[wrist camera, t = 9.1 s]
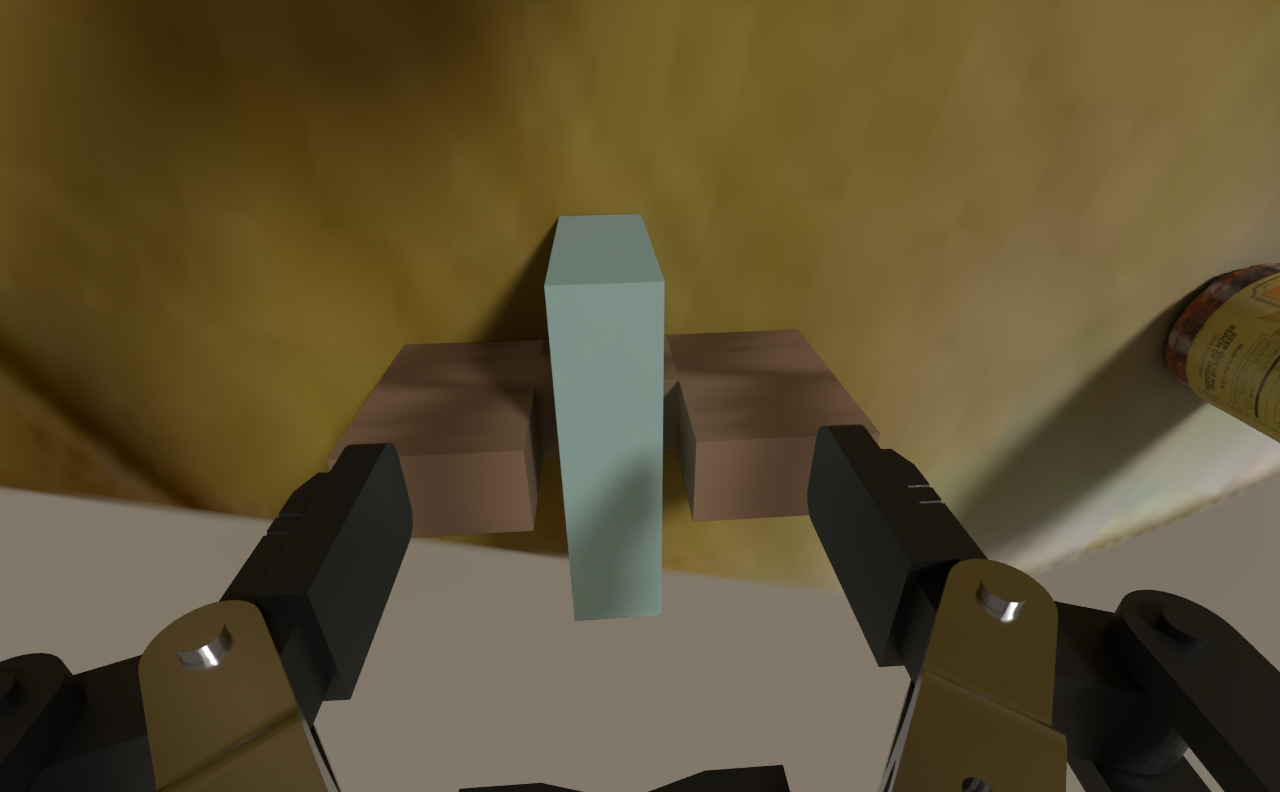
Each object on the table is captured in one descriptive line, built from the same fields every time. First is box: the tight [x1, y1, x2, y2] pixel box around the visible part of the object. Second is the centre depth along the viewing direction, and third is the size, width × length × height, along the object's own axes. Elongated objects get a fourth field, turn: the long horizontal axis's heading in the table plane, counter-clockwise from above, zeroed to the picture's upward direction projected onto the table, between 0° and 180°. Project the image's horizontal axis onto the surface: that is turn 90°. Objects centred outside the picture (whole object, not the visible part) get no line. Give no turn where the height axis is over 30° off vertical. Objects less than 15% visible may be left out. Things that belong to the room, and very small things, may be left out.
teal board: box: [544, 214, 664, 621], centre depth 21 cm, size 12×3×8 cm, turn 1°
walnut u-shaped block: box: [326, 330, 880, 538], centre depth 21 cm, size 16×3×8 cm, turn 91°
